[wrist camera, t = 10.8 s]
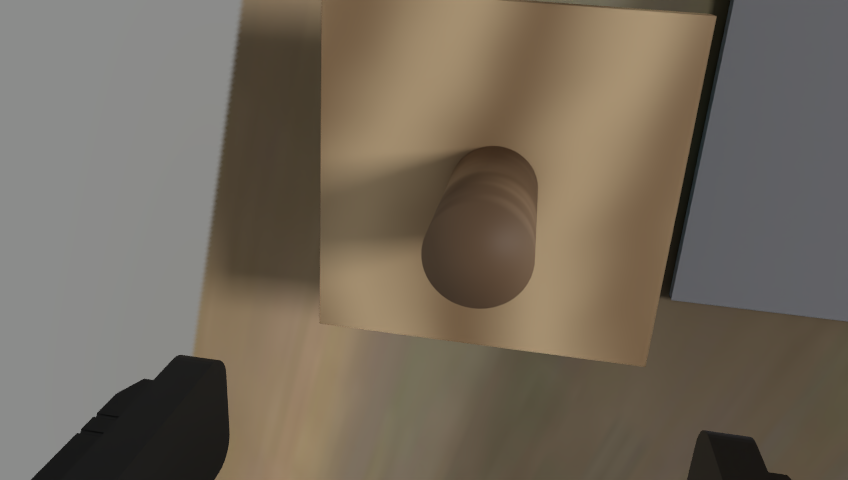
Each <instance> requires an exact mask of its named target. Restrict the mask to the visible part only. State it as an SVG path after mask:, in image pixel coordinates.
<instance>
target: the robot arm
mask: <svg viewBox="0 0 848 480" xmlns="http://www.w3.org/2000/svg"><path fill="white" fill-rule="evenodd" d="M228 445H229V416H228V398H227V380H226V369H225V366H224V363H223V362H222V361H220V360H213V359H206V358H199V357H192V356H185V355H178V356H176V357H175V358H174V359H173V360H172V361H171V362H170V363H169V364H168V365H167V366H166V367H165V368H164V370H163V371H162V372H161V373H160V374H159V375H158V376H157V377H156V378H155V379H154V380H149V379H143V380H141V381H139V382H137V383H135V384H133V385H132V386H130V387H128V388H126V389H124V390H122V391H121V392H119V393H117V394H116V395H115V396H114V397H113V398H112V399H111V400H110V401H109V402H108V403H107V404H106V405H105V406H104V407H103V408H102V409H101V410H100V411H99V412H98V413H97V416H96V417H93V418H92V419H91V420H90V421H89V422H88V423H87V424H86V425H85V426H84V427H83V428H82V429H81V433H80V434H79V433H77V434H76V435H75V436H74V437H73V438H72V439H71V440H70V441H69V442H68V443H67V444H66V445H65V446H64V447H63V448H62V449H61V450H60V451H59V452H58V453H57V454H56V455H55V456H54V457H53V458H52V459H51V460H50V461H49V462H48V463H47V464H46V465H45V466H44V467H43V468H42V469H41V470H40V471H39V472H38V473H37V474H36V475H35V476H34V477H33V478H32V479H31V480H214V479H215V478H216V476H217V475H218V473H219V471H220V470H221V468H222V466H223V463H224V461H225V458H226V454H227V450H228ZM687 480H791V479H790V478H789V477H788V476H787V475H783V474H776V473H769V472H768V471H767V468H766V466H765V464H764V461H763V459H762V456H761V454H760V452H759V449H758V447H757V445H756V442H755V440H754V439H753V438H751V437H746V436H739V435H732V434H725V433H718V432H711V431H704V430H703V431H701V432H700V434H699V436H698V438H697V441H696V445H695V449H694V453H693V457H692V461H691V466H690V470H689V474H688V478H687Z"/></svg>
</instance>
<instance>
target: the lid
mask: <svg viewBox="0 0 848 480" xmlns="http://www.w3.org/2000/svg"><path fill="white" fill-rule="evenodd" d="M716 17H717V16H715V15H712V14H704V13H691V12H677V11H663V10H649V9H636V8H622V7H608V6H594V5H580V4H567V3H553V2H539V1H525V0H322V20H321V180H320V324H327V325H335V326H342V327H350V328H357V329H365V330H372V331H380V332H387V333H395V334H402V335H410V336H417V337H425V338H432V339H440V340H447V341H455V342H462V343H470V344H477V345H485V346H492V347H500V348H507V349H515V350H522V351H530V352H537V353H545V354H552V355H560V356H567V357H575V358H582V359H590V360H597V361H605V362H612V363H620V364H627V365H635V366H643V367H645V366H646V361H647V356H648V351H649V346H650V341H651V336H652V331H653V327H654V322H655V317H656V312H657V307H658V302H659V297H660V292H661V287H662V282H663V277H664V273H665V268H666V263H667V258H668V253H669V248H670V243H671V238H672V233H673V228H674V223H675V219H676V214H677V209H678V204H679V199H680V194H681V189H682V184H683V179H684V174H685V169H686V165H687V160H688V155H689V150H690V145H691V140H692V135H693V130H694V125H695V120H696V115H697V111H698V106H699V101H700V96H701V91H702V86H703V81H704V76H705V71H706V66H707V61H708V57H709V52H710V47H711V42H712V37H713V32H714V27H715V22H716Z"/></svg>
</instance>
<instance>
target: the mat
mask: <svg viewBox="0 0 848 480" xmlns="http://www.w3.org/2000/svg"><path fill="white" fill-rule="evenodd" d="M669 296H670V298H671V300H675V301H683V302H692V303H700V304H708V305H716V306H725V307H733V308H741V309H749V310H758V311H766V312H774V313H782V314H791V315H799V316H807V317H815V318H824V319H832V320H840V321H848V0H730V5H729V10H728V15H727V20H726V24H725V29H724V34H723V39H722V43H721V48H720V53H719V58H718V63H717V67H716V72H715V77H714V82H713V87H712V91H711V96H710V101H709V106H708V111H707V115H706V120H705V125H704V130H703V134H702V139H701V144H700V149H699V154H698V158H697V163H696V168H695V173H694V178H693V182H692V187H691V192H690V197H689V202H688V206H687V211H686V216H685V221H684V225H683V230H682V235H681V240H680V245H679V249H678V254H677V259H676V264H675V269H674V273H673V278H672V283H671V288H670V293H669Z"/></svg>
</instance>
